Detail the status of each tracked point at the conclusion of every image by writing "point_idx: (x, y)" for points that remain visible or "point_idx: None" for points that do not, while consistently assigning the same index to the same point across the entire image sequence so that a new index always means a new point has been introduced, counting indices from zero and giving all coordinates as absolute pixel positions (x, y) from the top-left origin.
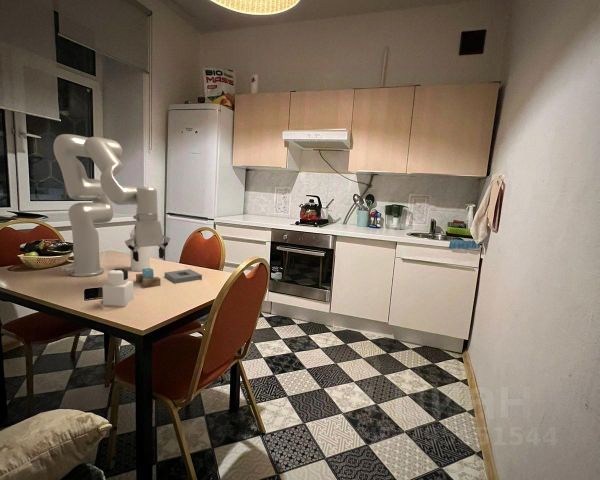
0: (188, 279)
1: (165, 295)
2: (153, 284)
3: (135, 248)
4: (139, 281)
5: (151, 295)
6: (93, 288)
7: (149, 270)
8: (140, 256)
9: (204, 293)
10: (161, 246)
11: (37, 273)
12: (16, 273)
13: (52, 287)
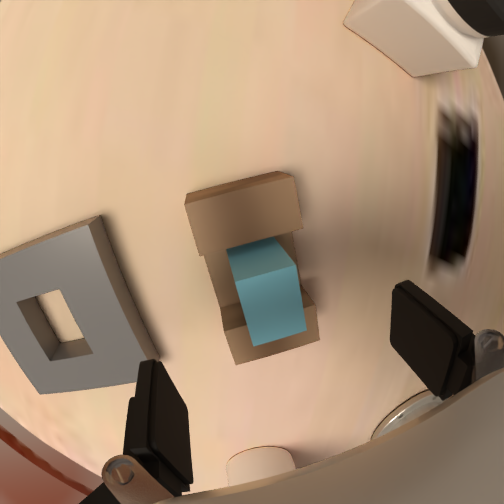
0: (27, 245)
1: (183, 23)
2: (231, 184)
3: (502, 358)
4: None
5: (255, 46)
6: (449, 260)
7: (266, 272)
8: None
9: (7, 32)
10: (150, 490)
11: None
12: None
13: (500, 298)
